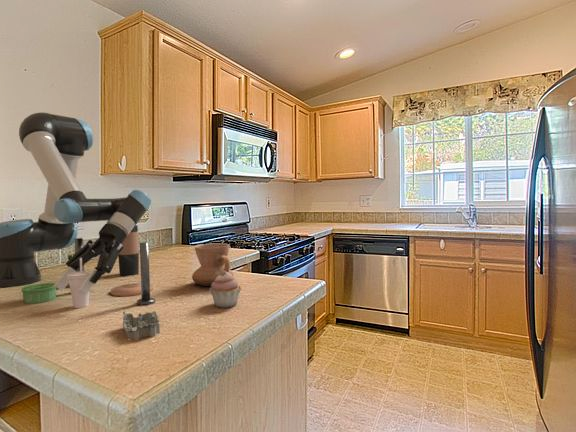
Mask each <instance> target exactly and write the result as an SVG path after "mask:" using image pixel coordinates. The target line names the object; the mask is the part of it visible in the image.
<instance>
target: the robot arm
mask: <svg viewBox="0 0 576 432" xmlns="http://www.w3.org/2000/svg"><path fill="white" fill-rule="evenodd" d="M93 134H94V133H93V130H92V128H91V126H90V124H88V122H86V121H85V120H83V119H82V120H81V119H78V118H75V117H70V116H64V115H59V114H52V113H49V112H34V113H32V114H30V115H28V116H26V117H25V118H24V119H23V120H22V121H21V123H20V125H19V129H18V136H19V140H20V143H21V144H22V146H23V149H25V150H26V151H28V152H30V154H31V155H32V157H33V159H34V160H35V163H36V165H37V166H38V167H39V169H40V172H41V173H42V176H44V178H45V180H46V182H47V191H46V198H45V204H44V212H42V213H40V214H39V215H38V221H35V222H34V221H33V219H31V218H25V219H24V218H23V219H15V220H8V221H3V222H0V288H4V287H5V288H6V287H16V286H23V285H28V284H32V283H37V282H39V281H41V280H42V274H41V272H40V269H39V267H38V265H37V261H36V260H35V253H37V252H38V253H40V252H46V251H53V250H62V249H67V248H69V247H72V246H73V245H74V244H75V240H74V239H75V238H78V225H77V223H86V222H87V223H88V222H102V221H103V222H104V221H106V223H105V224H104V225H103V226H102V227H101V229H100V230H99V231H98V238H97V239H96V240H95V241H93V240H92V239H89V240H88V241H87V242H86V243H85V245H83V248H81V249H80V250H79V251H78V252H77V253H76V254H75V255H74V256H73V255H72V258H71V259H70V260H68V261H67V260H66V262H65V265H66V266H67V268H66V270H65V271H64V272H63V274H62V275H60V277H59V278H58V279H57V281H56V283H55V282H54V283H55V285H54V286H55V287H56V289H58V290H59V291H61V292H63V291H64V290H65V288H66V287H67V286H68V285H69V280H68V278H67V274H69V273H72V272H78V271H77V269H79V268H80V258H82V266H83V265H84V266H85V264H86V263H88V262H89V261H91V260H92V259H93V258H97V257H98V256H99V257H98V261H97V265H96V266H95V267H94V269H92V271H91V273H90V274H89V276H88V277H87V278H86V280H85V281H84V282H83V284H82V285H81V286H80V288H79V289H78V290H79V291H81V292H82V293H83V294H85V295H87V294H88V293H89V291H91V290H92V289H93V287H94V285H96V283H98V281H99V280H100V278H102V276H103V275H105V274H110V273H111V272H112V270H113V268H114V266H115V264H116V261H117V259H118V255H119V253H120V252H121V250H122V249H123V248H124V247H123V246H122V245H121V244H122V243H123V241H124V240H125V239H126V237H127V235H128V234H129V233H130V232H131V230H132V229H133V227H134V226H135V225H137V224H138V223H139V221H140V220H141V219H142V218H143V216H144V215H145V213H146V212H147V211H148V209H149V208H150V205H151V204H152V199H151V197H150V196H149V195H148V194H147V193H146V192H144V191H142V190H140V189H133V190H132V191H131V192H129V193H128V195H127V196H125V197H120V198H117V197H116V198H114V197H113V198H87V197H86V195H85V194H84V192H83V190H82V188H81V187H80V185H79V183H78V182H77V180H76V178H77V170H78V165H79V164H78V163H79V160H80V159H81V158H83V157H84V155H85V152H86V151H89V150H91V148H92V147H93V145H94V135H93ZM89 294H90V293H89Z"/></svg>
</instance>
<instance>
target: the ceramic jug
mask: <svg viewBox="0 0 576 432" xmlns="http://www.w3.org/2000/svg"><path fill="white" fill-rule="evenodd" d="M194 251H195V255H196V257H197V260H198V262H199V264H200V267H198V268H197V269H195V271H194V272H193V273H192V276H191V278H192V281H193V282H194V283H195V284H196V285H198V286H199V285H200V286H202V287H203V286H204V287H212V286H211V285H212V283H213V282H214V281H215V279H216V278H217V277H218V276H220V275H222V274H223V272H224V271H226V272H228V273H230V274H232V276H233V277H234V272H233V271H232V269H231V260H230V258H229V257H228V254H229V251H230V244H228V243H221V242H220V243H205V244H204V243H201V244H197V245H195V246H194Z"/></svg>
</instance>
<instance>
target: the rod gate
mask: <svg viewBox="0 0 576 432" xmlns="http://www.w3.org/2000/svg"><path fill="white" fill-rule="evenodd" d="M74 240H75V242H74V252H75V254H76V253H77V252H78V251H79V250H80V249H81V248H83V247H84V237H77V238H75V239H74ZM149 250H150V247H149V242H148V241H143V242H139V258H140V259H139V265H140V283H141V294H140V296H141V298H140V299H137V300H136V304H137V306H148V305H149V306H150V305H152V304H155V303H156V298H155V297H151V291H150V284H151V283H150V280H151V279H150V275H151V274H150V251H149ZM77 271H80V268H79V269H77ZM82 271H85V264H84V265H83V266H82Z"/></svg>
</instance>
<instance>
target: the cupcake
mask: <svg viewBox="0 0 576 432" xmlns="http://www.w3.org/2000/svg"><path fill="white" fill-rule="evenodd" d="M241 291H242V286H239V281H238V279H236V278H235V277H234V275H233V276H232V274H230V273H228V272H226V271H224V272H223V274H222V275H220V276H218V277H217V278H216V279H215V281H214V282H213V283H212V285H211V286H210V288H209V291H208V292H209V293H210V294H211V296H212V300H213V303H214V306H215V307H217V308H223V309H224V308H225V309H226V308H232V307H235V306H236V305H237V304H238V301H239V295H240V292H241Z"/></svg>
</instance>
